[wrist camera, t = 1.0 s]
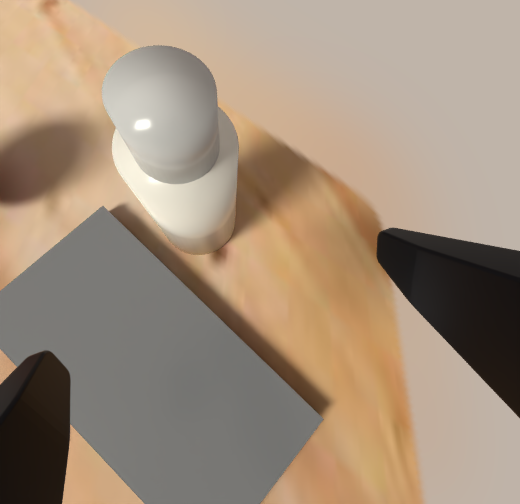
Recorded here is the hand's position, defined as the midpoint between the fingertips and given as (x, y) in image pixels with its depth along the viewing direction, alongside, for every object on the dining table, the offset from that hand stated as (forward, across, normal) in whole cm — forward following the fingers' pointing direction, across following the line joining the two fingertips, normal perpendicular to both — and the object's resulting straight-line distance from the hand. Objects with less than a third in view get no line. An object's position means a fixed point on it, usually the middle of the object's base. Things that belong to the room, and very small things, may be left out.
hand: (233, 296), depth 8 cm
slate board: (+8, +6, +10) cm, 14 cm away
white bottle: (+14, 0, +4) cm, 15 cm away
